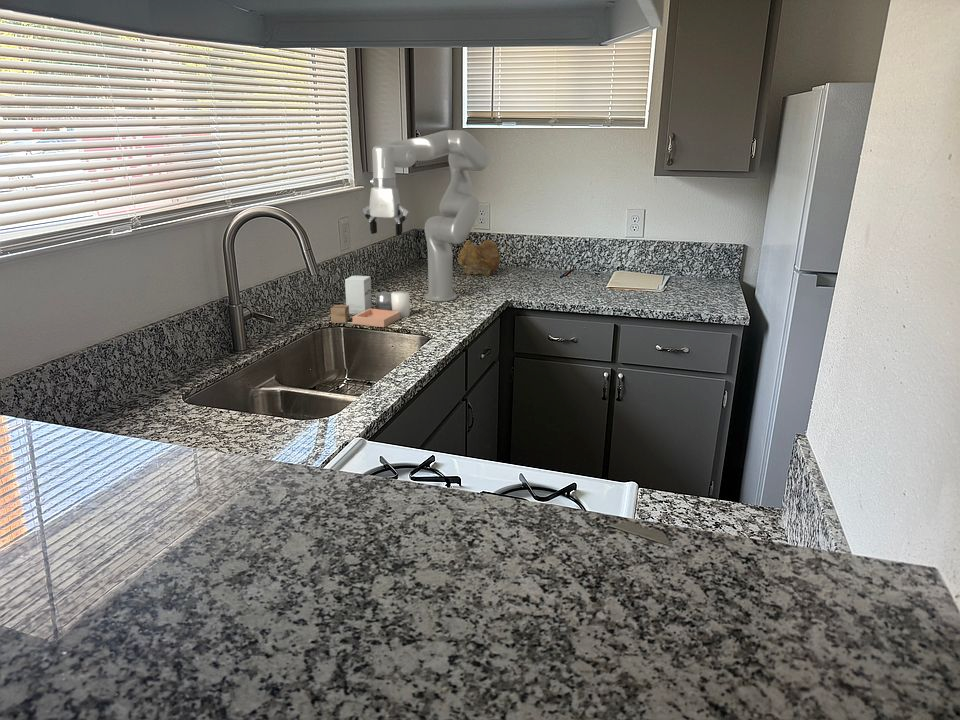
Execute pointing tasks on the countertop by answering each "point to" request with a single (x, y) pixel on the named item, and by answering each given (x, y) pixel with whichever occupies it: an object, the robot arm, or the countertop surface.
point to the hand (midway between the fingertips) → (386, 234)
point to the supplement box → (358, 293)
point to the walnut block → (340, 313)
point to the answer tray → (376, 317)
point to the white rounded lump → (401, 302)
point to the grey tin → (383, 301)
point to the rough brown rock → (479, 258)
